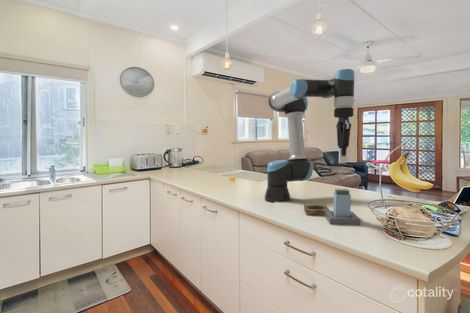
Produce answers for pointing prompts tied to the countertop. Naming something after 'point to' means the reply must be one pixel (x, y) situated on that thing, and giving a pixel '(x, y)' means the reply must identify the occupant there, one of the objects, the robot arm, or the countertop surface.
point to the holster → (315, 210)
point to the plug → (342, 203)
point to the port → (342, 219)
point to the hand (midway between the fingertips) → (342, 163)
